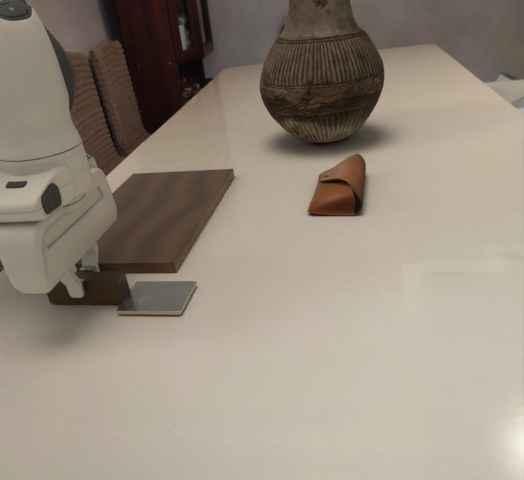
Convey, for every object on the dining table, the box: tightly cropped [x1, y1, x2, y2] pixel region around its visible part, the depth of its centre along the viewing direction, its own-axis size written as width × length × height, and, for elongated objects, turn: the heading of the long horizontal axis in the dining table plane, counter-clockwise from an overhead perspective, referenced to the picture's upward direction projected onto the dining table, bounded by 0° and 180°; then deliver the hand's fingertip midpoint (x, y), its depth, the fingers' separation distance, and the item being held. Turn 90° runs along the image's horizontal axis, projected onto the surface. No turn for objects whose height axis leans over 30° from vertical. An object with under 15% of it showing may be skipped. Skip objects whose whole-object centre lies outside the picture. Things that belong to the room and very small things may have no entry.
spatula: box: [45, 271, 198, 316], centre depth 65 cm, size 18×7×3 cm, turn 80°
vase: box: [259, 0, 386, 144], centre depth 103 cm, size 25×25×30 cm
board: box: [75, 168, 235, 274], centre depth 87 cm, size 20×37×2 cm, turn 170°
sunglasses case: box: [307, 152, 367, 217], centre depth 86 cm, size 18×7×7 cm
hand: (86, 286), depth 66 cm, fingers closed on spatula, 2 cm apart
